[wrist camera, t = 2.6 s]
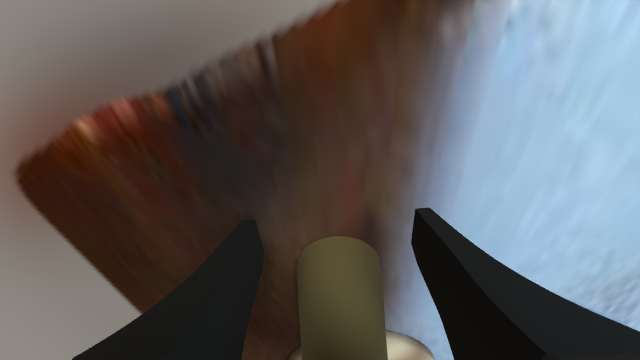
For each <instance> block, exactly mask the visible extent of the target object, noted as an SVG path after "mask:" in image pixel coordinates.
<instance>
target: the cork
mask: <svg viewBox="0 0 640 360" xmlns="http://www.w3.org/2000/svg"><path fill="white" fill-rule="evenodd" d="M296 273H297V289H298V305H299V321H300V337H301V353H302V360H388V354H387V341H386V328H385V316H384V303H383V291H382V278H381V266H380V260H379V256H378V254H377V253H376V251H375V250H374V249H373V247H372V246H370V245H368V244H367V243H365V242H364V241H362V240H359V239H355V238H352V237H346V236H333V237H327V238H322V239H319V240H317V241H315V242H313V243H311V244H309V245H308V246H307V247H306V248H305V249H304V250H303V251H301V253H300V255H299V257H298V259H297V261H296Z"/></svg>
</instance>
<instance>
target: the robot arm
mask: <svg viewBox="0 0 640 360" xmlns="http://www.w3.org/2000/svg"><path fill="white" fill-rule="evenodd" d="M411 244H412V247H413V251H414V254H415V258H416V261H417V264H418V266H419V269H420V271H421V273H422V276H423V278H424V280H425V283H426V285H427V287H428V289H429V292H430V294H431V296H432V299H433V301H434V303H435V305H436V308H437V310H438V312H439V315H440V318H441V320H442V323H443V326H444V329H445V332H446V335H447V338H448V341H449V344H450V347H451V350H452V354H453V357H454V360H640V332H639V331H637V330H635V329H632V328H630V327H627V326H625V325H623V324H620V323H618V322H616V321H613V320H611V319H608V318H606V317H604V316H601V315H599V314H597V313H594V312H592V311H590V310H588V309H586V308H584V307H582V306H579V305H577V304H575V303H573V302H571V301H569V300H566V299H564V298H562V297H560V296H558V295H556V294H554V293H553V292H551V291H549V290H547V289H545V288H543V287H541V286H539V285H538V284H536V283H534V282H532V281H530V280H528V279H527V278H525V277H523V276H521V275H520V274H518V273H516V272H515V271H513V270H512V269H510V268H508V267H507V266H505V265H503V264H502V263H500V262H499V261H497V260H496V259H494V258H493V257H491V256H490V255H488V254H487V253H486V252H484V251H483V250H481V249H480V248H479V247H477V246H476V245H474V244H473V243H472V242H470V241H469V240H468V239H467V238H465V237H464V236H463V235H462V234H460V233H459V232H458V231H457V230H455V229H454V228H453V227H452V226H450V225H449V224H448V223H447V222H446V221H445V220H443V219H442V218H441V217H440V216H439V215H437V214H436V213H435V212H434V211H433V210H432V209H430V208H419V209H415V216H414V224H413V232H412V240H411ZM263 255H264V250H263V247H262V243H261V240H260V236H259V232H258V229H257V225H256V222H255V220H244V221H241V222H240V223H239V224H238V226H237V227H236V228H235V229H234V230H233V231H232V232H231V233H230V235H229V236H228V237H227V238H226V239H225V240H224V241H223V243H222V244H221V245H220V246H219V247H218V248H217V249H216V250H215V251H214V252H213V254H212V255H211V256H210V257H209V258H208V259H207V260H206V261H205V262H204V263H203V264H202V265H201V266H200V267H199V268H198V269H197V270H196V271H195V272H194V273H193V274H192V275H191V276H189V277H188V278H187V279H186V280H185V281H184V282H183V283H182V284H180V285H179V286H178V287H177V288H176V289H175V290H173V291H172V292H171V293H170V294H168V295H167V296H166V297H165V298H163V299H162V300H161V301H159V302H158V303H157V304H155V305H154V306H153V307H152V308H150V309H149V310H148V311H146V312H145V313H143V314H142V315H141V316H139V317H138V318H137V319H135V320H133V321H132V322H131V323H129V324H128V325H126V326H125V327H123V328H122V329H120V330H119V331H117V332H115V333H114V334H112V335H111V336H109V337H107V338H106V339H104V340H102V341H101V342H99V343H98V344H96V345H94V346H93V347H91V348H89V349H88V350H86V351H84V352H83V353H81V354H79V355H77V356H76V357H74V358H73V359H72V360H241V357H242V351H243V345H244V339H245V333H246V328H247V324H248V320H249V316H250V312H251V309H252V305H253V301H254V298H255V294H256V290H257V287H258V283H259V279H260V275H261V270H262V263H263Z"/></svg>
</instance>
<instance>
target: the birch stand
mask: <svg viewBox="0 0 640 360" xmlns="http://www.w3.org/2000/svg"><path fill="white" fill-rule="evenodd" d="M386 341H387V354H388V360H435V359H434V356H433V354H432V353H431V351H430V350H429V349H428V348H427V347H426V346H425V345H424V344H422V343H421V342H419V341H417V340H416V339H414V338H411V337H409V336H406V335H403V334H399V333H395V332H390V331H386ZM288 360H302V353H301V346H300V347H298V348H297V349H296V350H295V351H294V352H293V353H292V354H291V355H290V356H289V358H288Z"/></svg>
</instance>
